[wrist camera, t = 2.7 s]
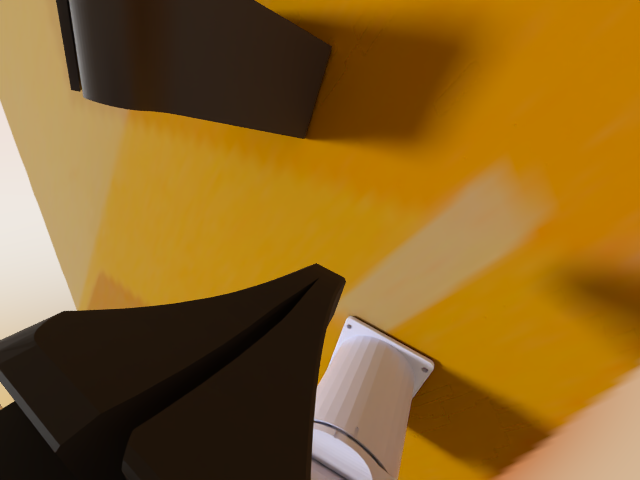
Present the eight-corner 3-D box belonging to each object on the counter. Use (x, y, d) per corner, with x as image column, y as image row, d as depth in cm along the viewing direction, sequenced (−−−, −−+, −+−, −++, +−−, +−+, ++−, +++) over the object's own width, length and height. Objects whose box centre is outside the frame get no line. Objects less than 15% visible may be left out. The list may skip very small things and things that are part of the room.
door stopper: (334, 48, 16) (136, -103, 6) (306, 139, 19) (144, 137, 9) (234, 11, 18) (-26, -142, 8) (223, 97, 21) (23, 60, 12)
